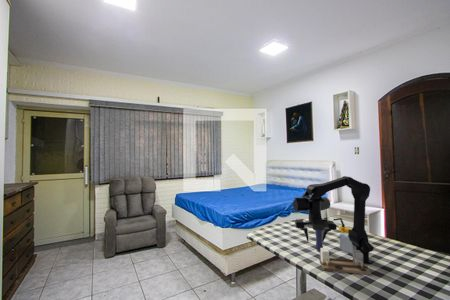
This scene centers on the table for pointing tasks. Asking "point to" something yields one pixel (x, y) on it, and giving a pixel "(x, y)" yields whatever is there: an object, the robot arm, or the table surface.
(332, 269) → the wooden peg rack
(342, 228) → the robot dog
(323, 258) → the slider
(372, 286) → the table surface
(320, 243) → the rubber mallet
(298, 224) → the robot arm
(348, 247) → the medicine box
